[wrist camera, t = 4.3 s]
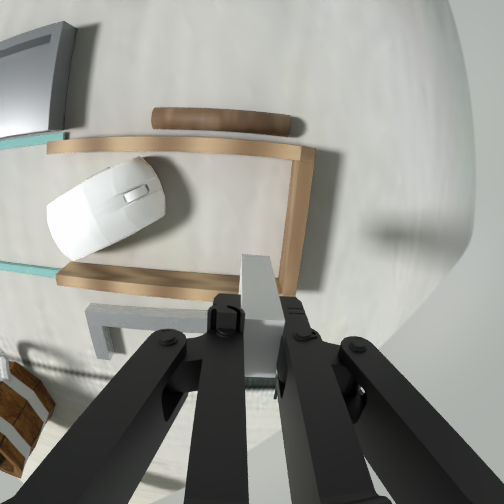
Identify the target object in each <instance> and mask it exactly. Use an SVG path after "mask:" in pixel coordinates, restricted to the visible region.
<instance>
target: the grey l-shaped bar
mask: <svg viewBox="0 0 504 504" xmlns="http://www.w3.org/2000/svg"><path fill="white" fill-rule="evenodd" d="M207 311H208V310H187V309H166V308H149V307H133V306H119V305H107V304H95V303H90V305H89V306H88V307H87V308H86V310H85V314H86V318H87V322H88V326H89V330H90V334H91V338H92V342H93V345H94V349H95V353H96V356H97V358H98V359H105V360H110V359H111V358H112V356H113V354H114V352H115V351H114V347H113V343H112V339H111V335H110V330H109V327H118V328H129V329H141V330H154V331H157V330H160V329H175V330H178V331H180V332H187V333H206V332H207Z"/></svg>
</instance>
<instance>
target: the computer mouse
mask: <svg viewBox="0 0 504 504" xmlns="http://www.w3.org/2000/svg"><path fill="white" fill-rule="evenodd" d="M164 215H165V195H164V192H163V189H162V186H161V183H160V181H159V179H158V177H157V175H156V173H155V171H154V169H153V167H152V166H151V165H149V164H148V163H147V162H146V161H145V160H144V159H143V158H142V157H136V158H133V159H130V160H128V161H125V162H123V163H120V164H118V165H116V166H114V167H111V168H110V167H108V168H106V169H104V170H102V171H100V172H99V173H97V174H95V175H93V176H91V177H89V178H88V179H86V180H85V181H83V182H82V183H80V184H78V185H77V186H75V187H73V188H72V189H70V190H69V191H67V192H66V193H64V194H62V195H61V196H60V197H58V198H57V199H55V200H54V201H53V202H51V203H50V204H49V205H47V222H48V225H49V228H50V231H51V234H52V237H53V239H54V240H55V242H56V244H57V245H58V247H59V249H60V250H61V252H62V253H64V254H65V255H66V256H67V257H68V258H70V259H71V260H72V261H75V260H77V259H80V258H82V257H85V256H87V255H90V254H92V253H94V252H96V251H99V250H101V249H103V248H106V247H108V246H110V245H112V244H114V243H116V242H119V241H121V240H123V239H125V238H127V237H129V236H131V235H133V234H135V233H137V232H138V231H139V230H141V229H142V228H144V227H146V226H148V225H150V224H152V223H153V222H155V221H157V220H158V219H160V218H161V217H163V216H164Z"/></svg>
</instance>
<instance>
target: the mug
mask: <svg viewBox="0 0 504 504" xmlns="http://www.w3.org/2000/svg"><path fill="white" fill-rule="evenodd" d="M54 407H55V402H54V401H53V399H52V398H51V396H50V395H49V393H48V392H47V390H46V388H45V387H44V385H43V384H42V382H41V381H40V380H39V379H38V378H36V377H35V376H33V375H32V374H31V373H29V372H28V371H27V370H25V369H24V368H23V367H22V366H20V365H19V364H18V363H17V362H11V361H9V360H8V356H7V355H6V354H5V352H4V351H3V350H1V349H0V470H1V471H3V472H6V473H8V474H11V475H13V476H16V477H18V478H21V476H22V472H23V469H24V466H25V464H26V462H27V460H28V457H29V456H30V454H31V453H32V451H33V449H34V448H35V446H36V444H37V441H38V439H39V436H40V433H41V432H42V430H43V428H44V426H45V424H46V423H47V421H48V420H49V419H50V417H51V416H52V413H53V410H54Z"/></svg>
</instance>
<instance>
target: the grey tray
mask: <svg viewBox="0 0 504 504" xmlns="http://www.w3.org/2000/svg"><path fill="white" fill-rule="evenodd" d="M76 31H77V28H75V27H73V26H72V25H70V24H68V23H66V22H65V21H62V22H58V23H54V24H51V25H47V26H44V27H41V28H38V29H35V30H31V31H29V32H26V33H23V34H20V35H17V36H15V37H12V38H9V39H7V40H4V41H2V42H0V139H1V138H7V137H13V136H19V135H26V134H33V133H41V132H49V131H58V130H64V115H65V103H66V94H67V85H68V77H69V70H70V64H71V57H72V52H73V46H74V41H75V36H76Z"/></svg>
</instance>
